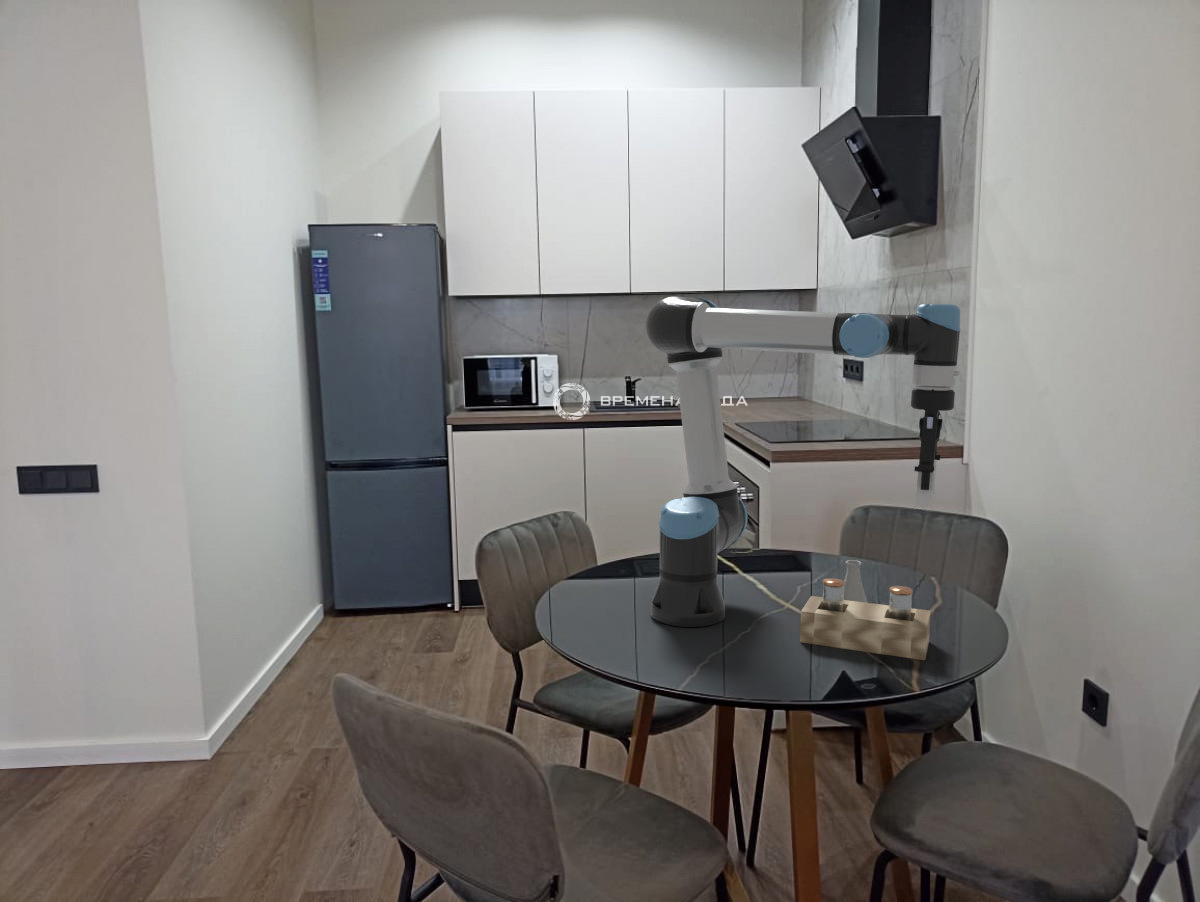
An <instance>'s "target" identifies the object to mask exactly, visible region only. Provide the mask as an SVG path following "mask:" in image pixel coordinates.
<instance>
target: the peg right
mask: <svg viewBox="0 0 1200 902" xmlns="http://www.w3.org/2000/svg"><path fill="white" fill-rule="evenodd" d="M913 592H914V589H913V588H910V587H909V586H905V585H904V586H903V585H894V586H890V587H889V601H888V603H889V604H888V605H889V618H890V619H898V620H906V621H911V608H912V599H913V598H912V597H913Z"/></svg>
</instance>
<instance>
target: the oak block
mask: <svg viewBox="0 0 1200 902" xmlns="http://www.w3.org/2000/svg"><path fill="white" fill-rule="evenodd" d="M822 607H823V596H817V595H816V596H815V595H811V596H810V597H809V599H808V600H807V602H806V603H805V605H804V606H803V608H802V609H801V611H800V627H799V628H800V633H799V643H804V644H810V645H817V646H825V647H831V648H836V649H845V650H851V651H859V652H863V653H864V652H865V653H872V654H878V655H886V656H894V657H899V658H905V659H906V658H907V659H912V660H920V661H926V660H927V659H926V658H927V653H928V648H929V645H930V644H929V643H930V630H931V629H930V626H931V612H932V611H931V610H930V609H929V610H928V609H920V608H913V607H911V621H906V620H898V619H890V618H889V604H888V605H887V604H880V603H873V602H872V603H871V602H868V603H865V602H857V601H848V600H844V604H843V612H836V611H829V610H822Z"/></svg>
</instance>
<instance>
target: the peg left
mask: <svg viewBox="0 0 1200 902" xmlns="http://www.w3.org/2000/svg"><path fill="white" fill-rule="evenodd" d="M822 583H823V585H822V597H823V607H822V610H829V611H836V612H843V604H844V585H845V581H844V580H843V579H839V578H835V577H834V578H833V577H831V578H824V579H822Z"/></svg>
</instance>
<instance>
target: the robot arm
mask: <svg viewBox="0 0 1200 902" xmlns="http://www.w3.org/2000/svg"><path fill="white" fill-rule="evenodd" d="M916 310H917V311H916V312H915V314H887V313H885V314H884V313H879V314H877V313H869V312H868V313H867V312H861V313H857V312H856V313H855V312H853V313H852V312H830V311H829V312H825V311H824V312H823V311H805V310H804V311H800V310H797V311H796V310H778V309H777V310H776V309H775V310H774V309H773V310H772V309H750V308H749V309H748V308H747V309H746V308H722V307H719V306H718V305H717V304H715V303H714V302H712V301H710V300H708V299H705V298H703V297H699V296H695V297H693V296H687V297H686V296H668V297H666V298H663V299H661V300H659V301H657V302H656V303H655V304H654V305H653V306H652V307H651V309H650V311H649V312H648V314H647V317H646V321H645V329H646V330H645V332H646V334H647V337H648V340H649V341H650V342H651V344H652V345H653V346H654V347H655V348H656V349H657V350H659V351H661V352H663V353H665V354H666V357H667V365H668V366H669V367H670V369H673V370H674V371H675V374H676V375H675V376H676V383H677V391H678V398H679V409H680V415H681V417H680V418H681V425H682V432H683V442H684V451H685V460H686V469H687V475H688V483H687V485H686V486H685V487H684V488H683V491H682V494H683V497H681V498H675V499H671V500H669V501H667V502H666V503H665V504H663V506H662V507H661V510H660V514H659V515H660V516H659V520H658V526H659V527H658V528H659V578H658V581H657V584H656V588H655V590H654V593H653V596H652V598H651V601H650V616H651V617H652V619H654V620H655V621H656V622H659V623H662V624H665V625H670V626H673V627H683V628H699V627H708V626H713V625H716V624H719V623H721V622H722V621H723V620H724V619H725V617H726V604H725V601H724V598H723V594H722V591H721V588H720V585H719V582H718V554H719V553H721V552H722V551H723V550H724V549H726V548H729V547H731V546H733V545H735V544H736V542H737V541H738V540H740V538H741V537H742V535H744V533H745V531H746V529H747V526H748V525H747V524H748V517H749V516H748V511H747V507H746V505H745V504H744V502H743V500H741V499H740V497H739V493H738V486H737V484H736V483H735V482H734V481H733V480H731V479H730V476H729V467H728V466H729V465H728V459H727V448H726V438H725V432H724V423H723V414H722V404H721V396H720V385H719V378H718V370H717V369H718V365H719V364H720V362H722V360H723V357H724V356H723V349H732V350H747V351H748V350H751V351H764V352H765V351H767V352H769V351H770V352H783V353H785V352H786V353H802V354H817V355H818V354H819V355H820V354H822V355H823V354H824V355H834V356H835V355H837V356H852V357H856V358H860V359H862V358H865V359H867V358H868V359H869V358H872V357H875V356H880V355H893V356H895V355H897V356H898V355H899V356H901V355H903V356H904V355H905V356H913V359H914V360H913V365H912V379H911V380H912V381H911V384H912V386H913V387H914V388H912V390H911V398H910V407H911V408H912V409H914V410H922V411H924V416H923V417H920V418H919V422H918V424H919V425H918V428H919V441H920V449H919V450H920V452H919V463H918V465H916V466H914V472H917V481H916V497H915V507H916V508H919V507H920V508H929V509H931V508H932V506H933V505H932V504H933V495H934V494H935V488H936V475H937V474H936V473H937V472H936V471H937V461H941V455H940V454H938V442H939V441H940V437H941V431H942V429H943V418H940V415H941V412H942V411H943V412H945V411H946V412H947V411H952V410H953V409H954V407H955V395H956V392H955V390H954V389H952V388H954V387H955V386H956V377H960V375H961V372H960V371H959V370H957V365H958V355H959V344H960V337H961V336H960V335H961V327H960V326H961V309H960V307H959V306H958V305H957V304H951V303H949V304H948V303H947V304H946V303H945V304H944V303H943V304H942V303H931V304H930V303H928V304H927V303H923V304H920V305H918V306H917V309H916ZM940 411H941V412H940Z"/></svg>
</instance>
